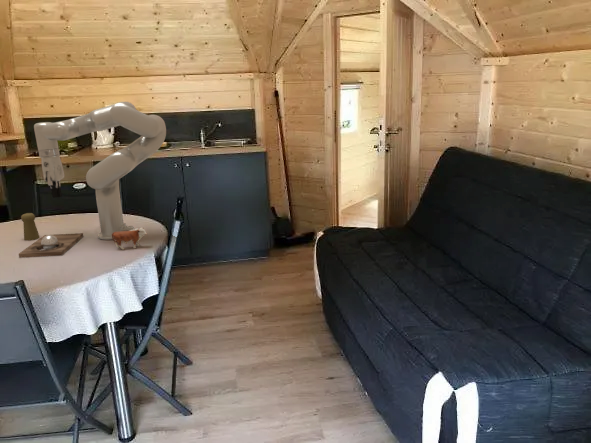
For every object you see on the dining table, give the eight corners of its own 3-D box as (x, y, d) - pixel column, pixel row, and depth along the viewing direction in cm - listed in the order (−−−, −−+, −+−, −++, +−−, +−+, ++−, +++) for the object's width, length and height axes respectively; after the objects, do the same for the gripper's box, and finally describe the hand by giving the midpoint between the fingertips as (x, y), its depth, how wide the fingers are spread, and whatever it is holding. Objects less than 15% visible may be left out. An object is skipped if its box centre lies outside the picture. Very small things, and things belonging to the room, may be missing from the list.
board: (45, 238, 210) (44, 234, 210) (83, 236, 211) (82, 233, 211) (19, 257, 187) (18, 253, 187) (62, 255, 188) (61, 251, 188)
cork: (33, 240, 207) (28, 215, 204) (20, 240, 208) (15, 215, 205) (42, 236, 213) (38, 212, 210) (30, 235, 214) (26, 211, 211)
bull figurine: (148, 248, 193) (145, 228, 191) (112, 250, 192) (110, 231, 189) (149, 244, 197) (147, 225, 195) (115, 247, 196) (112, 227, 193)
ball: (52, 231, 193) (59, 244, 193) (55, 233, 198) (61, 246, 198) (37, 237, 191) (43, 251, 191) (40, 239, 196) (46, 253, 196)
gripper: (51, 155, 192) (59, 200, 198) (65, 150, 207) (73, 192, 212) (31, 156, 192) (40, 201, 197) (47, 151, 206) (55, 193, 211)
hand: (57, 196), depth 204 cm, fingers closed
